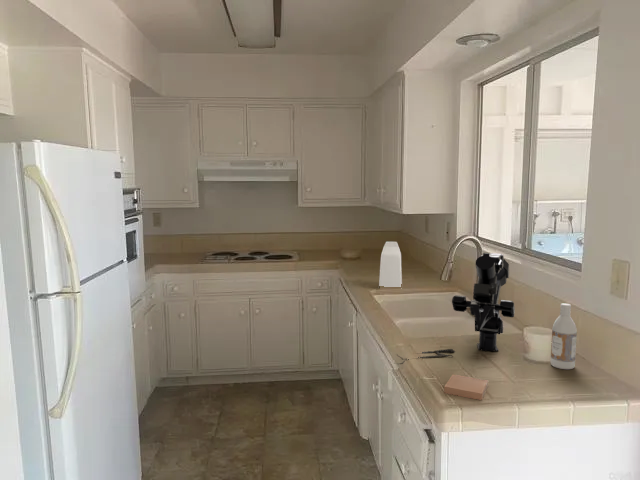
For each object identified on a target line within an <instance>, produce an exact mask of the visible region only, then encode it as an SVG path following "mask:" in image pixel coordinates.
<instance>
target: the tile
mask: <svg viewBox="0 0 640 480" xmlns="http://www.w3.org/2000/svg"><path fill="white" fill-rule="evenodd" d="M488 388H489V379H487V380H486V379H482V378H476V377H470V376H465V375H459V374H453V373H452V374H451V376H450V378H449V379H448V381H447V382H446V384H445V385H444V394H447V393H448V395H452V394H453V395H452V396H457V395H458V397H464V398H468V399H474V400H479V401H483V399H484V397H485V395H486V392H487V391H488Z"/></svg>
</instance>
